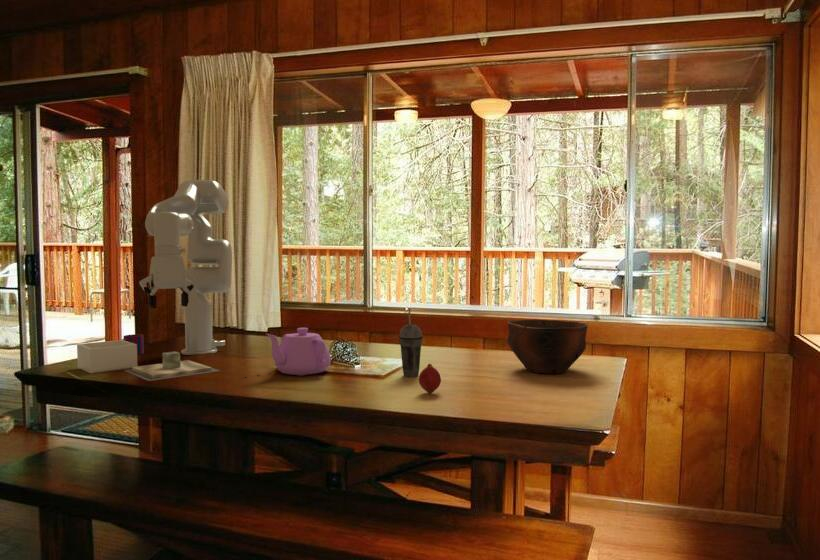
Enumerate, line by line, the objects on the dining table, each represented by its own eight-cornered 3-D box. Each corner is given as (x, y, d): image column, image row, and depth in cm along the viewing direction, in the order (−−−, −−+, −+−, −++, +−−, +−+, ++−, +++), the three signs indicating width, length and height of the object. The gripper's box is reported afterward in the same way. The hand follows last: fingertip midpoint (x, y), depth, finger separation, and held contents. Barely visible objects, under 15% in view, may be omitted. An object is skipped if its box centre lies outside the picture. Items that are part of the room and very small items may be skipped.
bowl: (594, 366, 207) (594, 319, 206) (580, 381, 184) (580, 328, 184) (518, 361, 217) (518, 316, 217) (496, 374, 195) (496, 324, 194)
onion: (418, 391, 173) (417, 361, 173) (439, 390, 174) (439, 361, 173) (420, 396, 168) (419, 365, 167) (442, 395, 168) (442, 365, 168)
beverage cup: (426, 374, 197) (425, 308, 195) (418, 378, 190) (418, 310, 189) (403, 372, 199) (403, 307, 198) (395, 377, 192) (394, 310, 191)
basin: (123, 363, 218) (122, 339, 217) (137, 369, 207) (136, 344, 207) (77, 368, 209) (77, 344, 208) (90, 375, 198) (89, 349, 198)
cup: (147, 353, 239) (147, 334, 239) (126, 357, 230) (126, 338, 230) (134, 352, 242) (133, 333, 241) (112, 356, 233) (111, 337, 232)
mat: (191, 363, 217) (191, 361, 217) (220, 372, 201) (220, 370, 201) (123, 372, 203) (123, 370, 203) (148, 382, 186) (148, 380, 186)
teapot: (246, 373, 199) (245, 329, 198) (303, 364, 215) (302, 322, 214) (290, 383, 184) (289, 335, 183) (347, 372, 200) (346, 328, 199)
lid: (188, 363, 214) (187, 346, 214) (211, 370, 201) (211, 353, 201) (132, 370, 202) (131, 352, 202) (153, 378, 189) (152, 360, 189)
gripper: (190, 251, 208) (191, 304, 209) (134, 252, 197) (136, 308, 198) (199, 251, 203) (201, 306, 203) (143, 252, 191) (144, 309, 192)
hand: (169, 307), depth 201 cm, fingers open, 9 cm apart
